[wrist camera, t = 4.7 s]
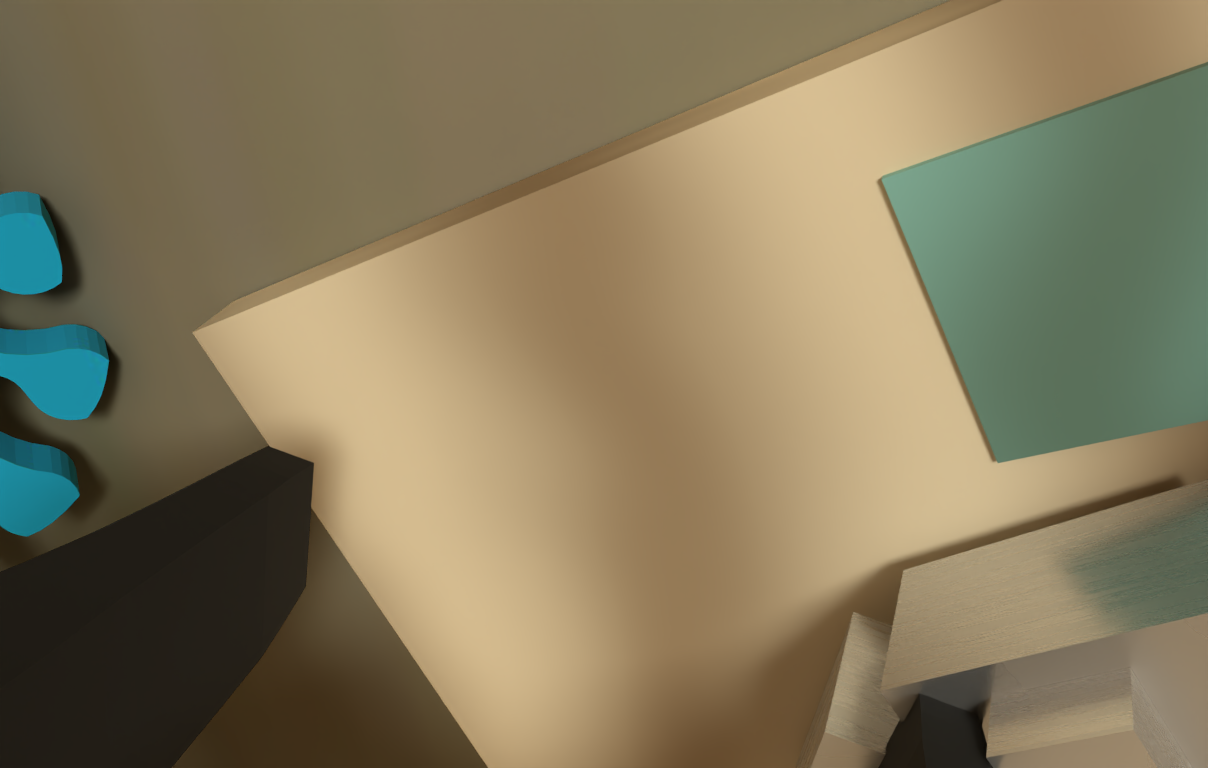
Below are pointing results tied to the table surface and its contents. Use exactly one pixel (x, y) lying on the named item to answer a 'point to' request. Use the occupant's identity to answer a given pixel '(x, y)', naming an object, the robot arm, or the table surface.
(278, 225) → the table surface
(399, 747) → the table surface
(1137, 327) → the beige square board
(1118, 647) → the faceted metal ring
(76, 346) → the gear
